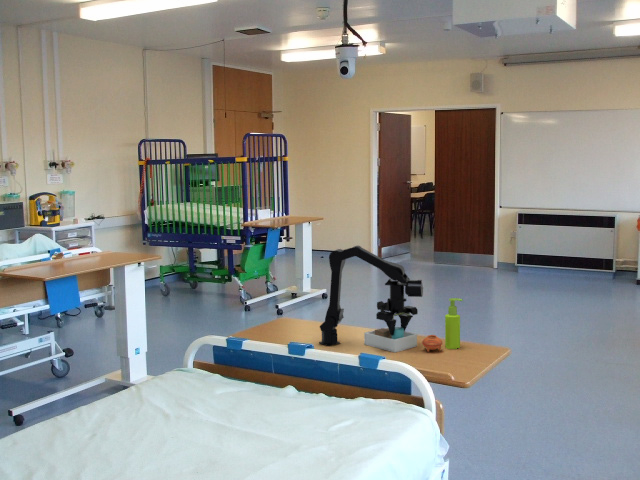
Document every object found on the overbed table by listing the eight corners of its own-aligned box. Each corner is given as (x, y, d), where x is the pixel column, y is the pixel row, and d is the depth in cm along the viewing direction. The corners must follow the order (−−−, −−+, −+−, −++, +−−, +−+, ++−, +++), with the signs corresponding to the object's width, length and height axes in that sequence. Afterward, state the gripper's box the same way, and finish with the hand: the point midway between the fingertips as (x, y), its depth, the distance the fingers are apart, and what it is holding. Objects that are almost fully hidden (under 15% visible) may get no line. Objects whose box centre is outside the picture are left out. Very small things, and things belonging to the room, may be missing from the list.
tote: (364, 344, 268) (364, 332, 268) (386, 338, 277) (386, 327, 276) (394, 352, 255) (394, 340, 255) (417, 346, 264) (416, 334, 263)
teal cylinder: (397, 347, 259) (397, 330, 259) (389, 345, 263) (388, 328, 262) (406, 345, 262) (406, 328, 262) (397, 342, 266) (397, 326, 266)
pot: (443, 347, 260) (443, 332, 258) (440, 357, 253) (440, 341, 251) (424, 345, 262) (423, 330, 260) (420, 355, 255) (420, 339, 253)
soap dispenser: (462, 349, 257) (462, 300, 255) (445, 348, 259) (445, 299, 257) (462, 345, 263) (462, 297, 261) (445, 345, 264) (445, 297, 262)
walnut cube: (383, 343, 265) (383, 332, 265) (375, 341, 269) (374, 329, 269) (392, 341, 269) (391, 329, 268) (383, 339, 272) (383, 327, 272)
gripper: (398, 290, 273) (398, 326, 274) (366, 296, 261) (367, 334, 263) (418, 294, 264) (418, 331, 266) (386, 300, 253) (386, 339, 254)
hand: (397, 334), depth 262 cm, fingers open, 6 cm apart
